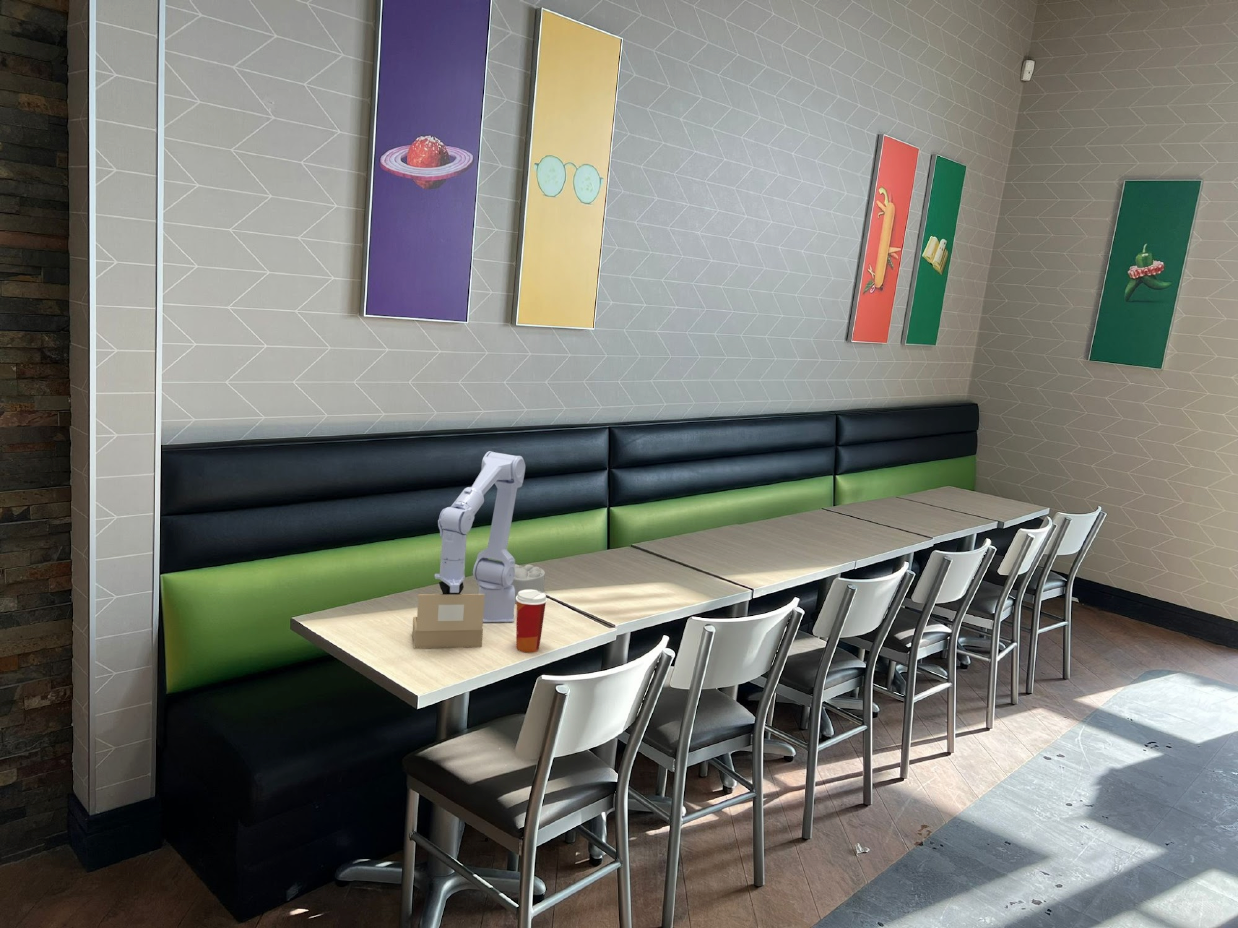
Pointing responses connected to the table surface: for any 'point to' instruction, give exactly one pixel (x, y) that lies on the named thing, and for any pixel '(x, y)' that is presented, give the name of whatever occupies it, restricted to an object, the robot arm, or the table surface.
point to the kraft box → (446, 638)
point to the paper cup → (529, 619)
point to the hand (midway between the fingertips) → (449, 611)
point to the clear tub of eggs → (528, 579)
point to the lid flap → (450, 612)
